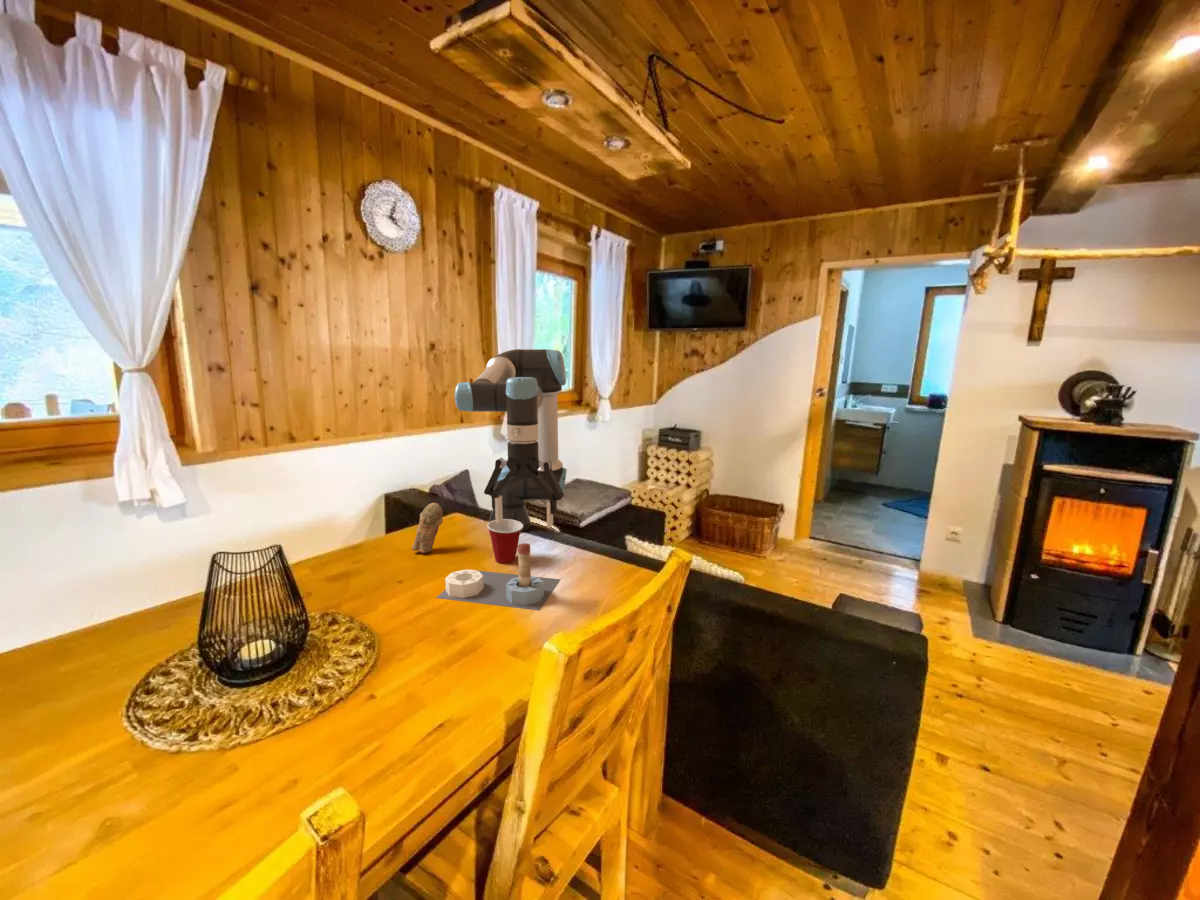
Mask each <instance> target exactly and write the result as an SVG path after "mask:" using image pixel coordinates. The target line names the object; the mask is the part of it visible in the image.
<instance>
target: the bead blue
mask: <svg viewBox="0 0 1200 900" xmlns="http://www.w3.org/2000/svg"><path fill="white" fill-rule="evenodd" d="M538 577H539V576H534V577H532V575H531V587H527V588H521V587H519V577H517V578H513V579H511V580H510V581H509V582H508V583H507V584H506V598H507V599H508V600H509V601H510V602H511V604H516V605H525V606H526V605H530V604H534V603H537V602H540V600H541V599H542V597H543V596H544V582H543V581H542V580H541V579H539V578H538Z"/></svg>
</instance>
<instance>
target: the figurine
mask: <svg viewBox="0 0 1200 900" xmlns="http://www.w3.org/2000/svg"><path fill="white" fill-rule="evenodd" d="M443 516H444V515H443V509H442V507H441V506H440V505H439V503H437V502H432V503H429V504H428V505H426V506H425V508H424V509H423V510H422V511H421V512H420V514H419V521H418V522H419V523H418V525H417V528H416V534H415V535H416V536H415V539H414V542H413V544H412V546H411V550H412V551H419V553H423V554H426V553H429V552H432V551H433V548H434V547H433V545H434V543H435V540H436V536H437V534H438V532H439V529H440V526H441V525H442V524H443Z"/></svg>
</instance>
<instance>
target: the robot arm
mask: <svg viewBox="0 0 1200 900" xmlns="http://www.w3.org/2000/svg"><path fill="white" fill-rule="evenodd" d="M564 360H565V359H564V356H563V353H562V352H561V351H560V350H558V349H557V350H556V349H549V348H544V349H542V348H541V349H539V348H538V349H536V348H535V349H527V348H526V349H521V348H519V349H511V350H507V351H504V352H501V353H499V354H497V355H494V357H492V358H491V359H490V360H489V361H488V362H487V363H486V366H485V369H484V370H483V372H482V373H480V375H478V376H477V378H475V380H474V381H472V382H470V381H463V382H458V383H457V385H456V386H455V388H454V389H455V390H454V401H455V402H454V403H455V406H456V408H457V410H459V411H462V412H470V413H473V412H479V413H480V412H485V413H487V412H488V413H489V412H496V413H497V412H501V413H502V412H503V413H506V432H507V435H506V436H507V440H508V443H506V444H507V445H506V446H507V459H504V458H503V457H499V458H498V459H496V460H495V462H494V463H495V464H494V469H493V470H492V474H491V476H490V478H489V480H488V482H487V485H486V487H485V488H484V491H483V493H484V494H485V495H488V496H490V498H491V508H492V509H491V514H490V516H489V520H488V523H489V522H490V521H493V520H496V523H499V522H500V521H502V520H503V519H511V520H516V521H519V522H521V523H522V524H523V528H522V530H521V532H520V533H522V532H524V531H527V530H529V529H530V527H531V518H530V514H529V512H528V510H527V507H526V501H547V502H546V528H548V529H550V528H551V527H552V526H553V525H554V515H555V514H556V513H557V510H558V509H557V508H558V505H557V504H558V503H557V502H558V501H561V500H562V499H563V498H564V497H565V493H564V492H565V486H566V480H567V479H566V478H567V473H568V471H567V470H568V469H567V468H566V467H563V462H562V461H561V460H560V459H559V416H558V414H559V411H558V409H559V408H558V395H559V394H560V393H561V392H562V390H563V389H562V388H563V386H565V385H566V384H567V376H566V367H565V361H564Z"/></svg>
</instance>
